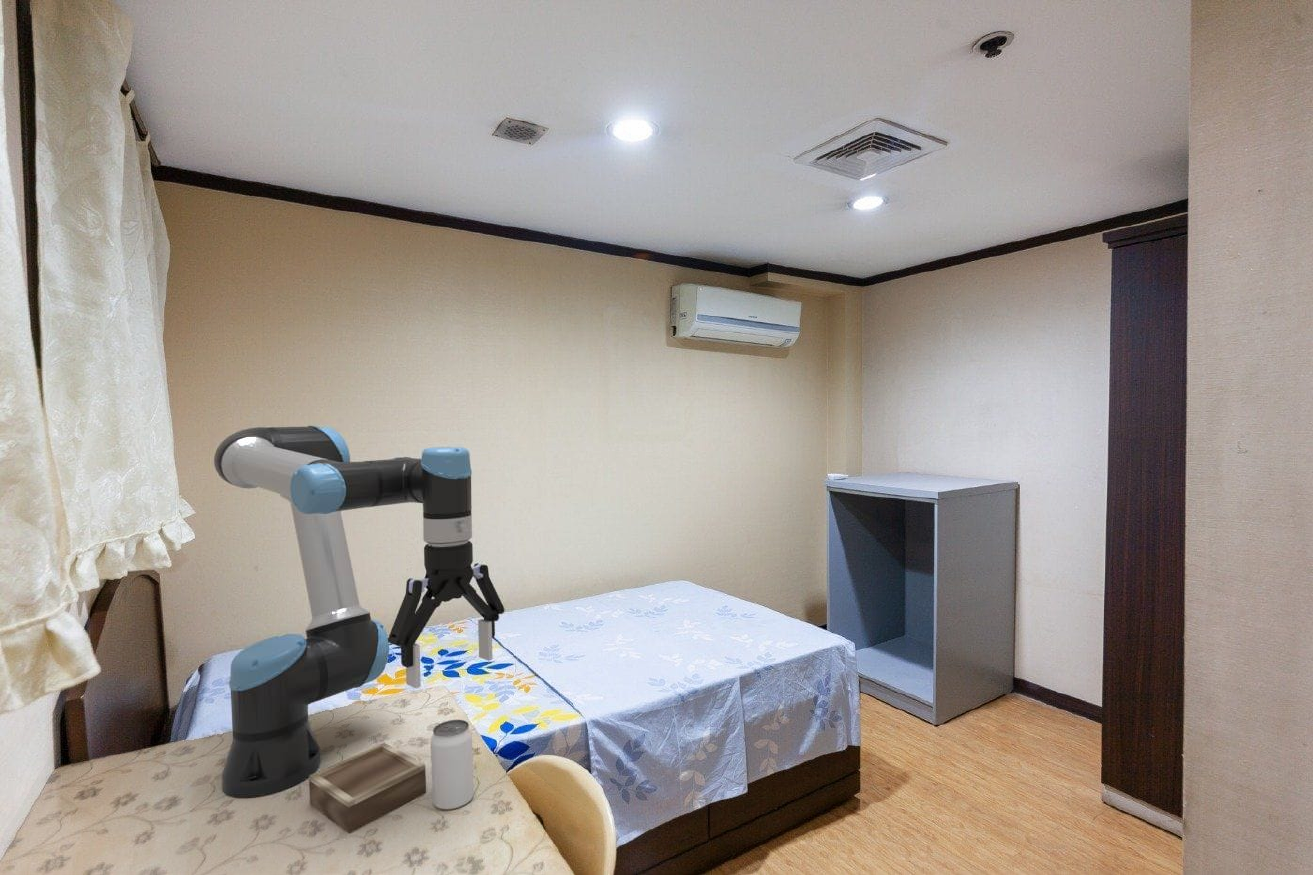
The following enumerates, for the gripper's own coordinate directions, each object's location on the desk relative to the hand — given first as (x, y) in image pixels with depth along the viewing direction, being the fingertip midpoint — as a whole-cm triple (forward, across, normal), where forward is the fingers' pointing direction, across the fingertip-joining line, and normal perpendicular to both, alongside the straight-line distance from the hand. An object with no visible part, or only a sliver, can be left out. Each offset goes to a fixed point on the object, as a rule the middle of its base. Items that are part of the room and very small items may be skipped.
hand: (451, 671), depth 103 cm
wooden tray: (+22, -8, +12) cm, 26 cm away
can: (+22, 0, 0) cm, 22 cm away
